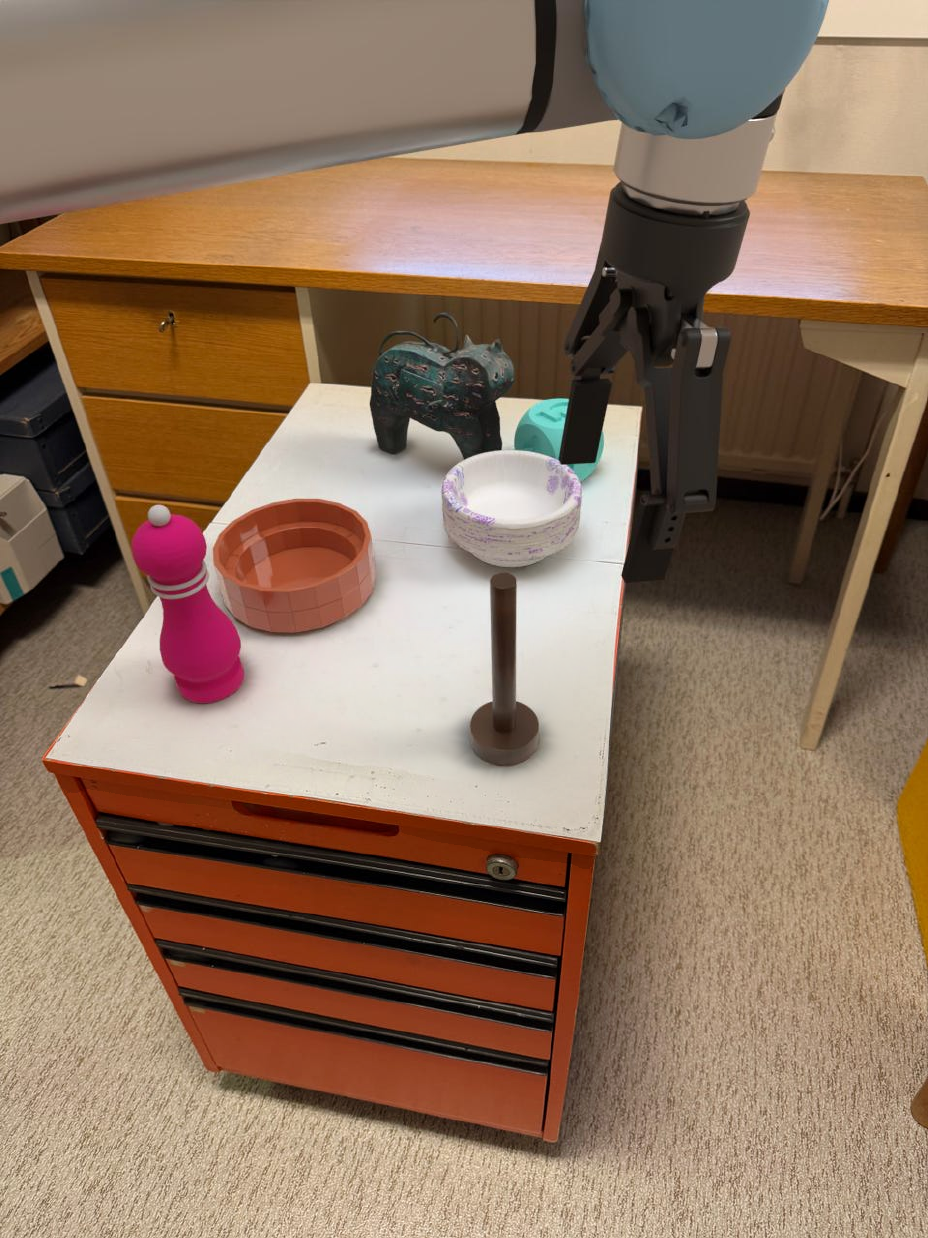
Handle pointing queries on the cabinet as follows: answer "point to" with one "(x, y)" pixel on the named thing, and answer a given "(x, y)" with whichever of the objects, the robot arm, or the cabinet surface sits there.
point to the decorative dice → (549, 433)
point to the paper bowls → (511, 506)
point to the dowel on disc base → (504, 688)
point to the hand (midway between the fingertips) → (607, 515)
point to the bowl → (295, 564)
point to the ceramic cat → (440, 392)
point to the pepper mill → (188, 608)
